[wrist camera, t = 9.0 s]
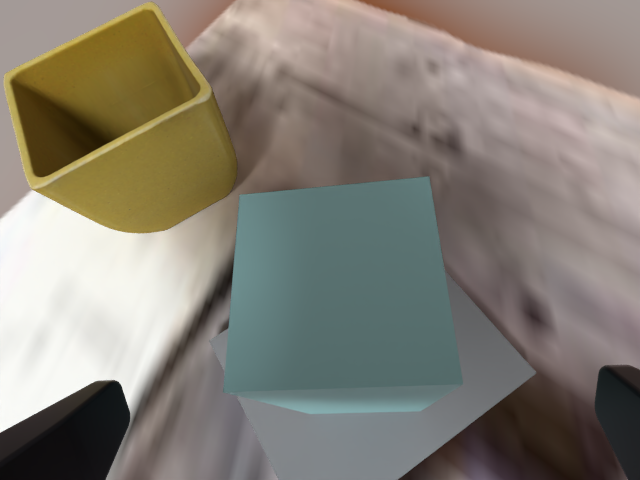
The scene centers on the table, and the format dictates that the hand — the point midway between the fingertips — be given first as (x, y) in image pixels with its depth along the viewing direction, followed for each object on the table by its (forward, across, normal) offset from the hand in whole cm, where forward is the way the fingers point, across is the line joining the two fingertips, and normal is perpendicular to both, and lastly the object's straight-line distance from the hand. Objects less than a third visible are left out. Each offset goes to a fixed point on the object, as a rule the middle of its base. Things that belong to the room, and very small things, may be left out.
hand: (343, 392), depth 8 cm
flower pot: (+19, +12, -1) cm, 23 cm away
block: (+10, 0, +6) cm, 12 cm away
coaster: (+11, 0, +7) cm, 13 cm away
